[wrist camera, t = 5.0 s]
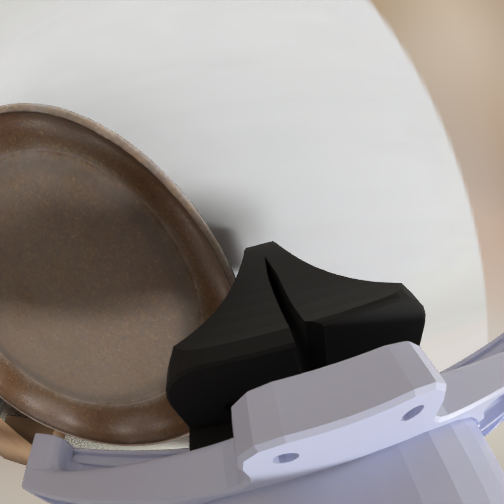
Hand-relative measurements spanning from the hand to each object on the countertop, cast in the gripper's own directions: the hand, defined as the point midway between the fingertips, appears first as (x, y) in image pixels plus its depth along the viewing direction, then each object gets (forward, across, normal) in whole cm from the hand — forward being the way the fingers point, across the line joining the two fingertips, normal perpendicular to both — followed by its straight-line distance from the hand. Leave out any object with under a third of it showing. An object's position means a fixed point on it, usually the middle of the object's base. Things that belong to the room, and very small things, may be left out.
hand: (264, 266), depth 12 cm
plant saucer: (+2, +11, 0) cm, 12 cm away
